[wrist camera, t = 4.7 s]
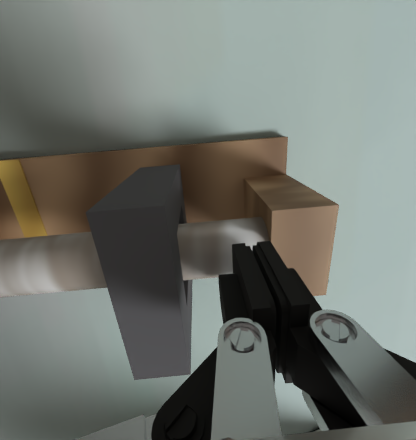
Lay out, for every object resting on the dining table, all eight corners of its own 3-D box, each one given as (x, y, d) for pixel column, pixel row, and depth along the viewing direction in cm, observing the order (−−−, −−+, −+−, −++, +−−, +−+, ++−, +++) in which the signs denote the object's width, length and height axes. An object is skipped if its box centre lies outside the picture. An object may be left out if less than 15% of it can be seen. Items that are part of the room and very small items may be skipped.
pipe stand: (283, 136, 16) (350, 147, 9) (277, 259, 20) (322, 332, 13) (-112, 169, 16) (-356, 206, 9) (-41, 288, 20) (-173, 381, 13)
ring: (179, 164, 15) (164, 205, 8) (192, 270, 18) (190, 374, 11) (140, 167, 15) (85, 212, 7) (159, 273, 18) (134, 379, 11)
